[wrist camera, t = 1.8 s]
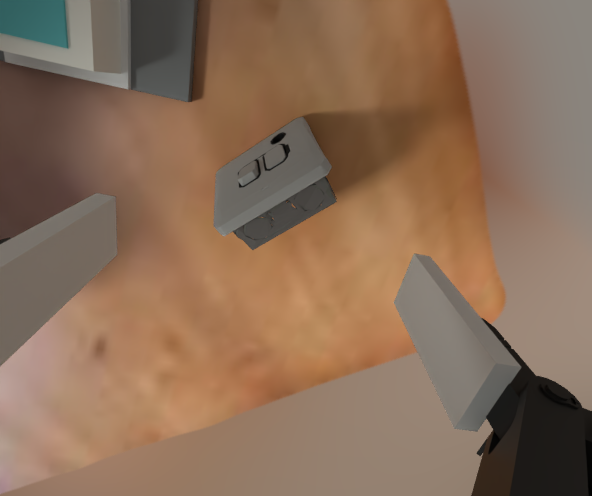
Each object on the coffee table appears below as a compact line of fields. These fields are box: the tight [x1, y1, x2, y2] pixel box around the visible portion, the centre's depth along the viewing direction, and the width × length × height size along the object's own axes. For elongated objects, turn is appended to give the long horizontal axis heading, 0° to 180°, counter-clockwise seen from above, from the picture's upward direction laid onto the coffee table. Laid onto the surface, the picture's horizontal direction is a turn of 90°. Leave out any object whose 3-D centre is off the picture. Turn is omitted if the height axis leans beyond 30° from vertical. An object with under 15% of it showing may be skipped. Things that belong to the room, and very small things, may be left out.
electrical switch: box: [214, 117, 337, 250], centre depth 27 cm, size 9×5×9 cm, turn 121°
